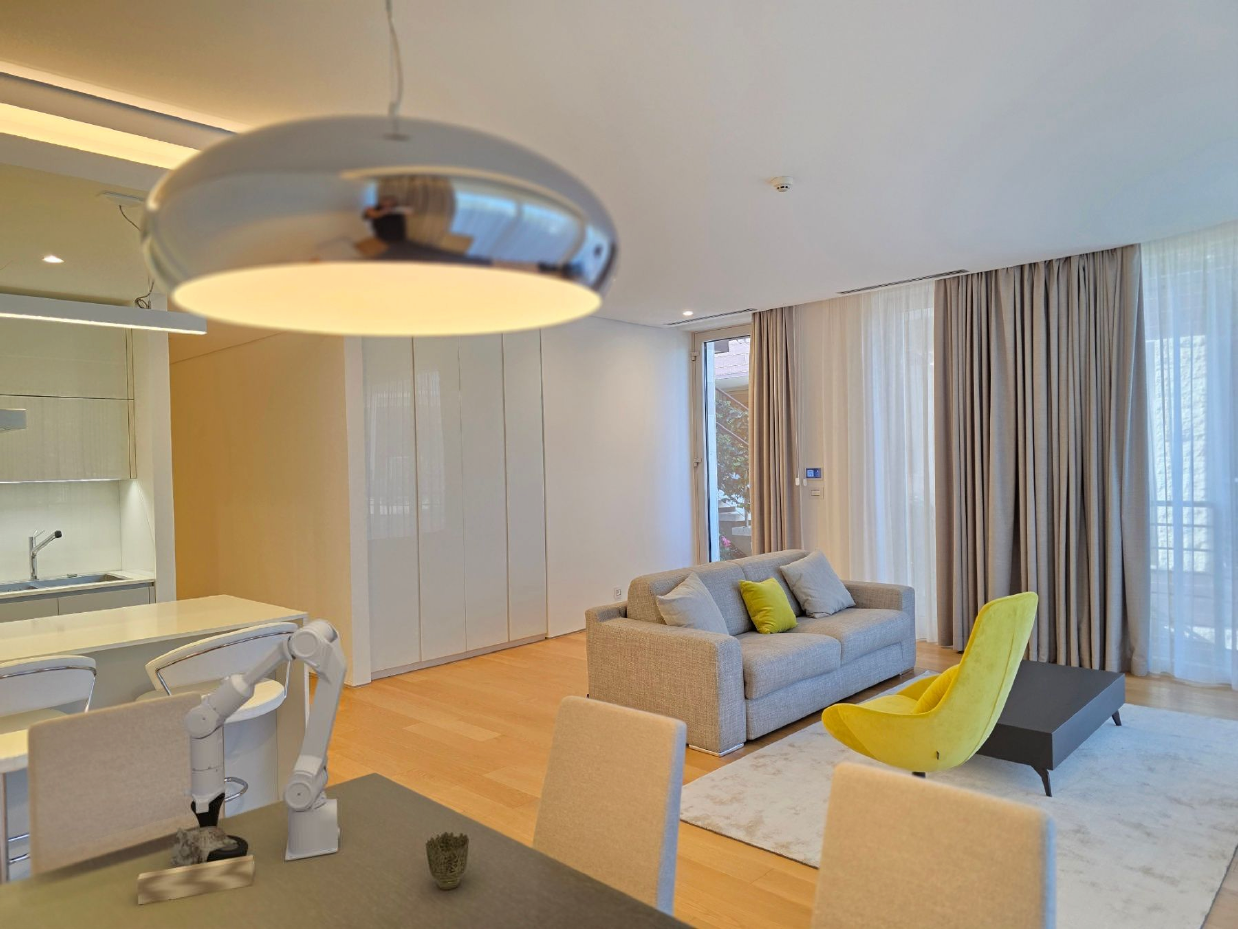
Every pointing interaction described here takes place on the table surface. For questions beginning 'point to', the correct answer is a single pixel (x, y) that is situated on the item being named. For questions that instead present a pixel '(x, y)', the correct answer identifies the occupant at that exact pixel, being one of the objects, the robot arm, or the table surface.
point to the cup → (447, 858)
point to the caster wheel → (206, 846)
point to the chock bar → (195, 879)
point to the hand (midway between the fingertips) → (209, 835)
